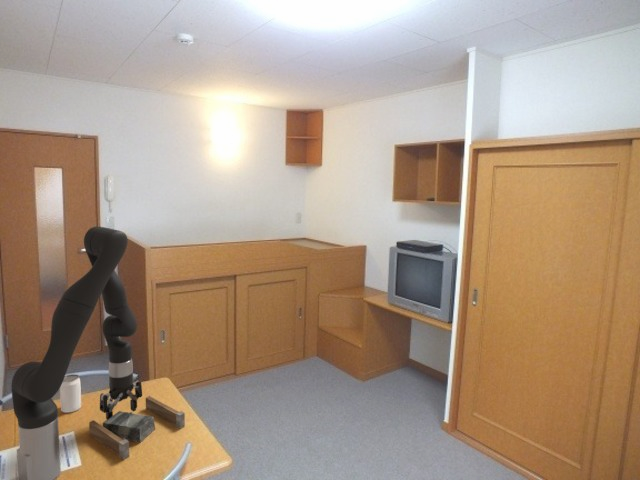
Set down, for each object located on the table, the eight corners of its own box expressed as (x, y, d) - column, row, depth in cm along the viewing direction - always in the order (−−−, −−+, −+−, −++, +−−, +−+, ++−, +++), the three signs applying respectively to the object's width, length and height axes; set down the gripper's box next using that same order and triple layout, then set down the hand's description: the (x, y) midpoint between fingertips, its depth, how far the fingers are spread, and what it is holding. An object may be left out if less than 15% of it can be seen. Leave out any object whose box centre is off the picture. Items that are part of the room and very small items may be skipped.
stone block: (121, 421, 148) (121, 407, 147) (157, 428, 144) (157, 414, 143) (102, 435, 139) (102, 421, 138) (140, 443, 136) (140, 428, 135)
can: (56, 411, 152) (55, 380, 150) (71, 402, 158) (70, 372, 156) (70, 415, 150) (69, 383, 148) (85, 406, 156) (84, 375, 154)
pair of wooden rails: (123, 459, 127) (122, 444, 127) (88, 435, 138) (88, 421, 138) (184, 426, 146) (184, 412, 145) (150, 407, 157) (149, 394, 156)
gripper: (106, 382, 137) (108, 428, 139) (146, 367, 149) (146, 410, 151) (94, 376, 141) (96, 420, 143) (133, 362, 153) (134, 403, 155)
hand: (122, 415), depth 147 cm, fingers open, 8 cm apart
